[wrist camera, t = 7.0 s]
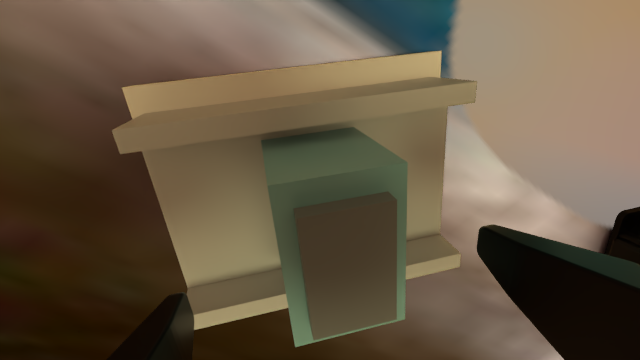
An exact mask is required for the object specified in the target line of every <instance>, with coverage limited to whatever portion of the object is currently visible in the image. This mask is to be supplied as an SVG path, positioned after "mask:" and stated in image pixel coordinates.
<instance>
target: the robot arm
mask: <svg viewBox="0 0 640 360" xmlns="http://www.w3.org/2000/svg"><path fill="white" fill-rule="evenodd" d="M477 252H478V255H479V257H480V258H481V259H482V261H483V262H484V263H485V265H486V266H487V268H488V269H489V270H490V272H491V273H492V274H493V276H494V277H495V279H496V280H497V281H498V283H499V284H500V285H501V287H502V288H503V289H504V291H505V292H506V293H507V295H508V296H509V297H510V298H511V300H512V301H513V302H514V303H515V304H516V305H517V306H518V308H519V309H520V310H521V311H522V312H523V313H524V314H525V316H526V317H527V318H528V319H529V320H530V321H531V322H532V324H533V325H534V326H535V327H536V328H537V329H538V330H539V331H540V333H541V334H542V335H543V336H544V337H545V338H546V339H547V341H548V342H549V343H550V344H551V345H552V346H553V347H554V348H555V350H556V351H557V352H558V353H559V354H560V355H561V356H562V358H563V359H564V360H640V207H637V208H633V209H628V210H624V211H622V212H620V213H619V214H618V216H617V217H616V220H615V223H614V227H613V230H612V233H611V236H610V240H609V243H608V246H607V249H606V252H605V254H601V253H597V252H594V251H590V250H586V249H583V248H579V247H575V246H572V245H568V244H564V243H561V242H557V241H553V240H549V239H546V238H542V237H538V236H535V235H531V234H527V233H524V232H520V231H516V230H512V229H509V228H505V227H501V226H498V225H487V226H483V227H481V228H480V229H479V234H478V242H477ZM193 336H194V315H193V311H192V308H191V306H190V303H189V300H188V297H187V295H186V293H184V292H180V293H176V294H171V295H169V296H168V297H166V298H165V299H164V300H163V302H162V303H161V304H160V305H159V306H158V307H157V308H156V309H155V310H154V311H153V312H152V313H151V314H150V315H149V316H148V317H147V318H146V319H145V320H144V321H143V322H142V323H141V324H140V325H139V326H138V327H137V328H136V330H135V331H134V332H133V333H132V334H131V335H130V336H129V337H128V338H127V339H126V340H125V341H124V342H123V343H122V344H121V345H120V346H119V347H118V348H117V349H116V350H115V351H114V352H113V353H112V354H111V355H110V356H109V358H108V359H107V360H192V351H193Z"/></svg>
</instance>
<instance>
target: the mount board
mask: <svg viewBox="0 0 640 360" xmlns="http://www.w3.org/2000/svg"><path fill="white" fill-rule="evenodd" d="M441 52H442V51H430V52H421V53H412V54H403V55H395V56H386V57H377V58H368V59H360V60H351V61H342V62H333V63H325V64H316V65H307V66H298V67H290V68H281V69H272V70H263V71H255V72H246V73H237V74H228V75H220V76H211V77H202V78H193V79H185V80H176V81H167V82H158V83H149V84H141V85H132V86H127V87H122V90H123V93H124V96H125V99H126V102H127V105H128V108H129V111H130V114H131V117H132V120H130V121H128V122H127V123H125V124H123V125H121V126H119V127H117V128H115V129H113V130H111V131H112V133H113V136H114V139H115V141H116V144H117V147H118V150H119V152H120V154H125V153H132V152H139V151H142V153H143V156H144V159H145V162H146V165H147V168H148V171H149V174H150V177H151V180H152V183H153V186H154V189H155V192H156V195H157V198H158V201H159V204H160V207H161V210H162V213H163V216H164V219H165V222H166V225H167V228H168V231H169V234H170V236H171V239H172V242H173V245H174V248H175V251H176V254H177V257H178V260H179V263H180V266H181V269H182V272H183V275H184V278H185V281H186V284H187V287H188V291H187V297H188V300H189V303H190V306H191V308H192V311H193V315H194V330H196V329H200V328H205V327H209V326H213V325H217V324H221V323H226V322H230V321H234V320H238V319H242V318H247V317H251V316H255V315H259V314H263V313H268V312H272V311H276V310H280V309H285V308H288V302H287V297H286V291H285V285H284V279H283V274H282V268H281V262H280V256H279V251H278V245H277V239H276V233H275V228H274V222H273V216H272V210H271V204H270V199H269V193H268V187H267V180H266V173H265V166H264V159H263V152H262V145H261V140H266V139H273V138H280V137H287V136H294V135H301V134H308V133H315V132H322V131H329V130H336V129H343V128H350V127H354V128H356V129H357V130H359V131H361V132H362V133H364V134H365V135H367V136H368V137H370V138H371V139H373V140H374V141H376V142H377V143H379V144H380V145H382V146H384V147H385V148H387V149H388V150H390V151H391V152H393V153H394V154H396V155H397V156H399V157H400V158H402V159H403V160H405V161H406V162H408V176H407V232H406V280H407V279H411V278H415V277H419V276H424V275H428V274H432V273H436V272H440V271H445V270H449V269H453V268H457V267H460V258H461V253H460V252H459V251H458V250H457V249H455V248H454V247H453V246H452V245H451V244H450V243H449V242H448V241H447V240H446V239H445V238H444V237H442V236H441V235H440V225H441V208H442V192H443V175H444V159H445V142H446V125H447V109H448V106H454V105H461V104H468V103H474V102H475V98H476V87H477V81H469V80H458V79H449V78H440V73H441Z"/></svg>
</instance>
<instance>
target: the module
mask: <svg viewBox="0 0 640 360" xmlns="http://www.w3.org/2000/svg"><path fill="white" fill-rule="evenodd" d="M261 145H262V152H263V159H264V166H265V173H266V180H267V187H268V193H269V199H270V204H271V210H272V216H273V222H274V228H275V233H276V239H277V245H278V251H279V256H280V262H281V268H282V274H283V279H284V285H285V291H286V297H287V302H288V308H289V314H290V320H291V325H292V331H293V337H294V343H295V347H298V346H302V345H306V344H310V343H313V342H317V341H321V340H325V339H329V338H333V337H337V336H341V335H345V334H349V333H353V332H357V331H361V330H365V329H369V328H373V327H376V326H380V325H384V324H388V323H392V322H396V321H400V320H404V319H405V288H406V232H407V176H408V162H406V161H405V160H403V159H402V158H400V157H399V156H397V155H396V154H394V153H393V152H391V151H390V150H388V149H387V148H385V147H384V146H382V145H380V144H379V143H377V142H376V141H374V140H373V139H371V138H370V137H368V136H367V135H365V134H364V133H362V132H361V131H359V130H357V129H356V128H354V127H350V128H343V129H336V130H329V131H322V132H315V133H308V134H301V135H294V136H287V137H280V138H273V139H266V140H261Z"/></svg>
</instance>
